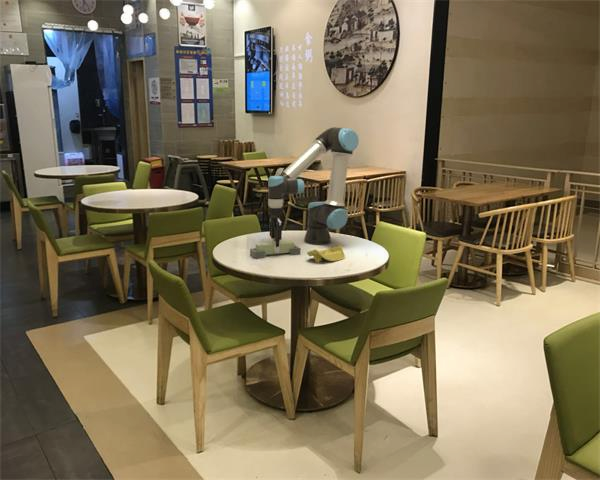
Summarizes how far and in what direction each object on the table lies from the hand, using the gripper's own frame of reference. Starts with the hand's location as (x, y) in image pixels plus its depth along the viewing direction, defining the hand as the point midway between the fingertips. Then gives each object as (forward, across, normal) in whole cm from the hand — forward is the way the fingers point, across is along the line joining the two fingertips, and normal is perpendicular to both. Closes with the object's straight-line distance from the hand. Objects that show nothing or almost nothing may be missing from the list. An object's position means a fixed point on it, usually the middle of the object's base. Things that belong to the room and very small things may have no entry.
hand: (275, 251), depth 267 cm
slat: (+1, 0, 0) cm, 1 cm away
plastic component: (+2, -16, -20) cm, 26 cm away
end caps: (+2, 0, 0) cm, 2 cm away
